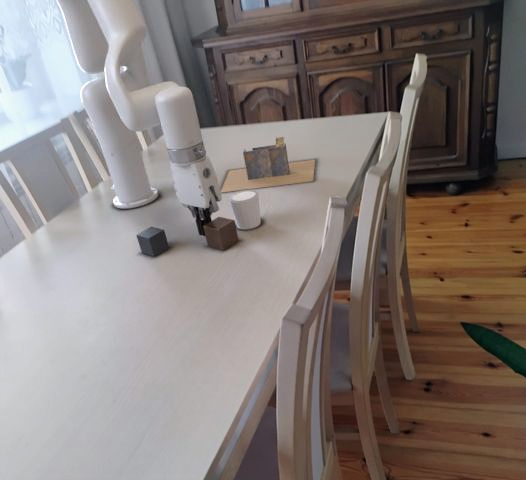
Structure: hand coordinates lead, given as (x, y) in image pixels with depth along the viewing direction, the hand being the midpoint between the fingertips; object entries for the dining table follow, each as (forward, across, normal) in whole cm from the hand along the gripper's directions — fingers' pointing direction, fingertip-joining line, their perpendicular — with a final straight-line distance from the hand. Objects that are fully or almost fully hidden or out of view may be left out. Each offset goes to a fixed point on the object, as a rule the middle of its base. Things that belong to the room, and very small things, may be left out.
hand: (206, 233), depth 129 cm
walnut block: (+2, -5, 0) cm, 5 cm away
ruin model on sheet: (+2, +12, -36) cm, 38 cm away
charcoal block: (+2, +8, +9) cm, 12 cm away
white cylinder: (+2, -4, -10) cm, 11 cm away
